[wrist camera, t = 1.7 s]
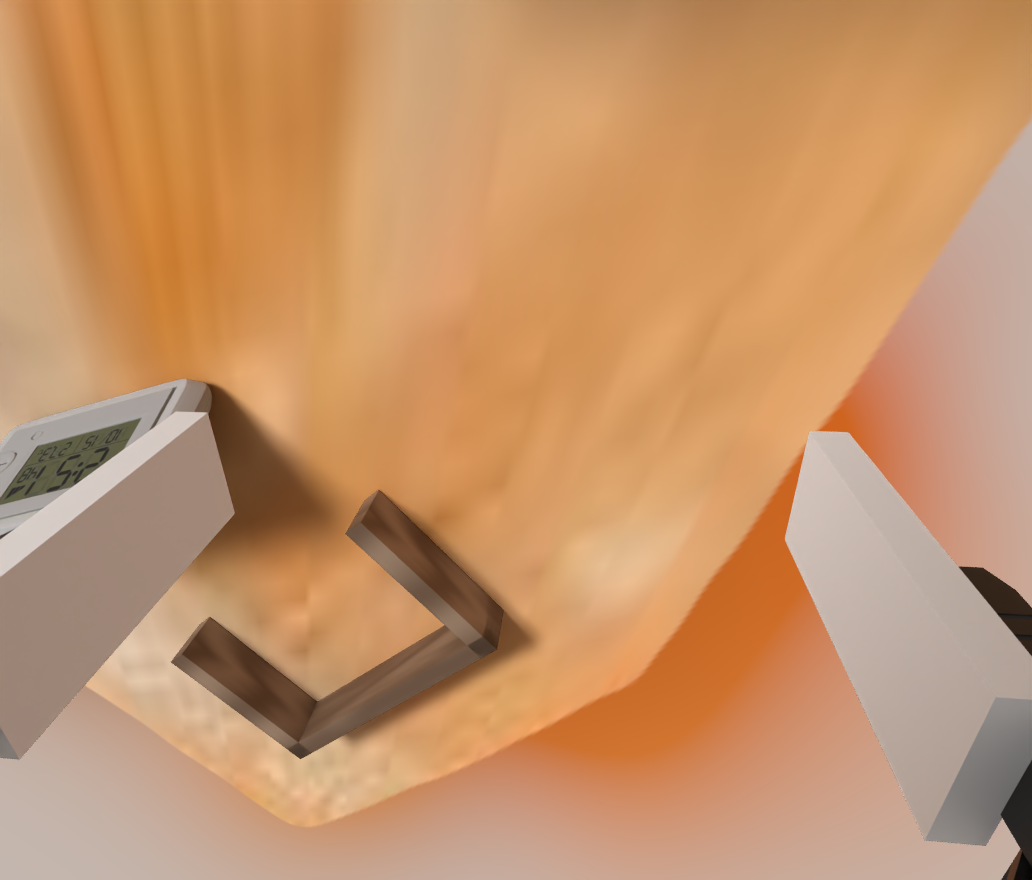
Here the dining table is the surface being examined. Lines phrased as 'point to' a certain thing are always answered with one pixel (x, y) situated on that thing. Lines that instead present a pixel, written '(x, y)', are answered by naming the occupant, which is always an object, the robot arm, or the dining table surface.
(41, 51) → the dining table surface
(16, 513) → the digital clock
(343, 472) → the dining table surface
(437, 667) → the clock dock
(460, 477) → the dining table surface
